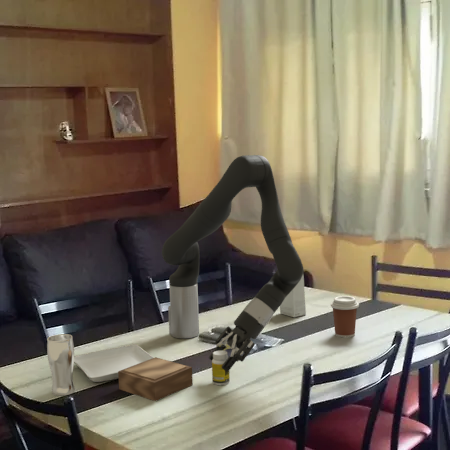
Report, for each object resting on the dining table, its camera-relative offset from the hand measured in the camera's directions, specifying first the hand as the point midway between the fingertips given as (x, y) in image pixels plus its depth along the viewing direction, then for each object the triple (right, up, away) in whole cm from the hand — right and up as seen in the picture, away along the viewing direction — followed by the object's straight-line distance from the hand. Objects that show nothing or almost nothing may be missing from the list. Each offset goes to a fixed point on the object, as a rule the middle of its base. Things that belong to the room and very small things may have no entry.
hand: (217, 365), depth 199 cm
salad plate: (-30, -4, +14) cm, 34 cm away
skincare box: (+26, +6, +65) cm, 71 cm away
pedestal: (-17, -6, -1) cm, 18 cm away
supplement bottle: (+1, -5, +1) cm, 5 cm away
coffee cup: (+41, +2, +40) cm, 57 cm away
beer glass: (-41, -7, -2) cm, 42 cm away
